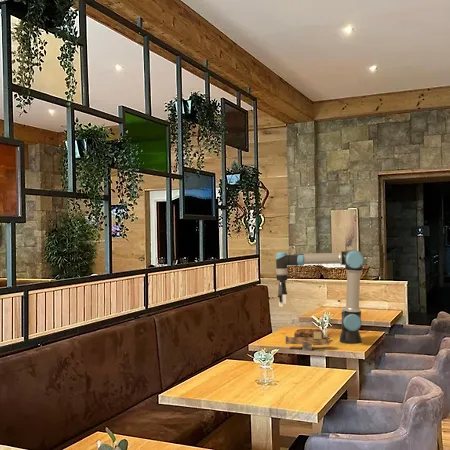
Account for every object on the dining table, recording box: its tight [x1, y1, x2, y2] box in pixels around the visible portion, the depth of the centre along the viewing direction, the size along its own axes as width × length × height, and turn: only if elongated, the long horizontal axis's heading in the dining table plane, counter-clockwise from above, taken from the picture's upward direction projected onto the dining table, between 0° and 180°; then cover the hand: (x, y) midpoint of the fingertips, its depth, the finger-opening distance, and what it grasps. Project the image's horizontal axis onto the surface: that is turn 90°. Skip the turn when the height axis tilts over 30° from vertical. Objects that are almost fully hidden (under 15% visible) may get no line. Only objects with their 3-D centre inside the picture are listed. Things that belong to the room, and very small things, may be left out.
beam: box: [285, 335, 330, 352], centre depth 366 cm, size 28×8×8 cm, turn 81°
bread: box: [293, 328, 324, 346], centre depth 385 cm, size 19×11×10 cm, turn 65°
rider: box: [314, 332, 322, 339], centre depth 365 cm, size 5×6×5 cm
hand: (282, 305), depth 381 cm, fingers open, 13 cm apart
